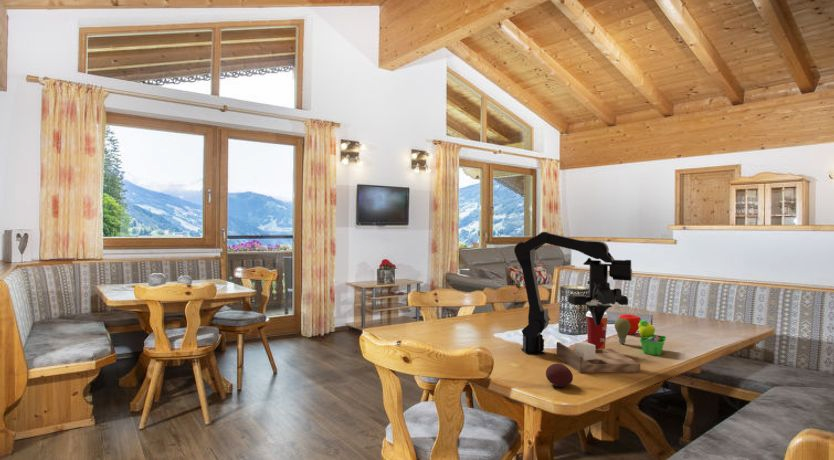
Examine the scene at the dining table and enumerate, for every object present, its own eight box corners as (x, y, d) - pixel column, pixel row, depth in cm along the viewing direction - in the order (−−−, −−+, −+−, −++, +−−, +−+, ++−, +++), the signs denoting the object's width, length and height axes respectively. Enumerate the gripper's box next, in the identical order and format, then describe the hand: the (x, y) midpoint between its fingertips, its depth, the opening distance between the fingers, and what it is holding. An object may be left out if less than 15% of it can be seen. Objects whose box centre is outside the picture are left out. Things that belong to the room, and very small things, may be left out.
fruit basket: (663, 357, 169) (663, 324, 169) (635, 353, 174) (636, 321, 174) (666, 350, 179) (666, 319, 179) (639, 346, 183) (640, 316, 183)
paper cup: (609, 354, 171) (610, 314, 171) (586, 352, 173) (587, 313, 173) (605, 348, 179) (606, 311, 179) (583, 347, 180) (584, 310, 180)
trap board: (579, 372, 149) (580, 356, 149) (556, 356, 167) (556, 342, 167) (640, 371, 152) (640, 355, 152) (610, 355, 170) (610, 341, 170)
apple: (644, 336, 200) (645, 317, 200) (623, 335, 201) (623, 317, 200) (635, 331, 209) (635, 313, 209) (614, 331, 209) (615, 313, 209)
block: (584, 360, 154) (584, 346, 154) (574, 356, 158) (574, 343, 158) (595, 359, 156) (595, 345, 156) (585, 355, 160) (585, 342, 160)
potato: (543, 388, 135) (544, 366, 135) (547, 378, 143) (547, 358, 143) (571, 392, 132) (572, 370, 132) (573, 382, 141) (574, 361, 140)
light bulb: (614, 344, 185) (614, 318, 185) (614, 341, 190) (614, 316, 190) (630, 346, 183) (630, 320, 183) (629, 343, 188) (630, 317, 188)
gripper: (582, 281, 154) (581, 330, 154) (638, 281, 156) (637, 330, 156) (567, 277, 165) (566, 323, 165) (619, 277, 167) (618, 323, 167)
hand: (597, 325), depth 163 cm, fingers closed
